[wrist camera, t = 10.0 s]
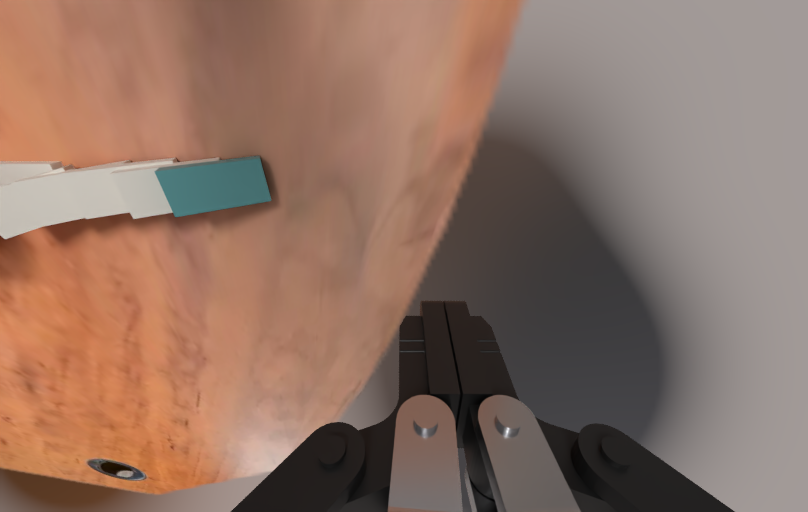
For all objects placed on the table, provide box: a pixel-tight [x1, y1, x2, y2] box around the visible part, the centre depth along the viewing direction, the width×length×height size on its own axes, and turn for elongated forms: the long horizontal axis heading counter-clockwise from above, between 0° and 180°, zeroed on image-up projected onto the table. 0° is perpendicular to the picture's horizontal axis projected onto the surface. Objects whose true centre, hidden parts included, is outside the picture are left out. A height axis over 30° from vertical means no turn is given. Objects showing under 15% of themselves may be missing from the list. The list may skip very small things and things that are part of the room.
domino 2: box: [0, 164, 76, 239], centre depth 35 cm, size 2×5×10 cm
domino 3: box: [11, 160, 131, 226], centre depth 35 cm, size 2×5×10 cm
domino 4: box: [59, 158, 178, 219], centre depth 35 cm, size 2×5×10 cm
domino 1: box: [0, 161, 64, 186], centre depth 37 cm, size 2×5×10 cm
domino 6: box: [154, 156, 271, 217], centre depth 34 cm, size 2×5×10 cm
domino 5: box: [110, 157, 221, 219], centre depth 35 cm, size 2×5×10 cm
